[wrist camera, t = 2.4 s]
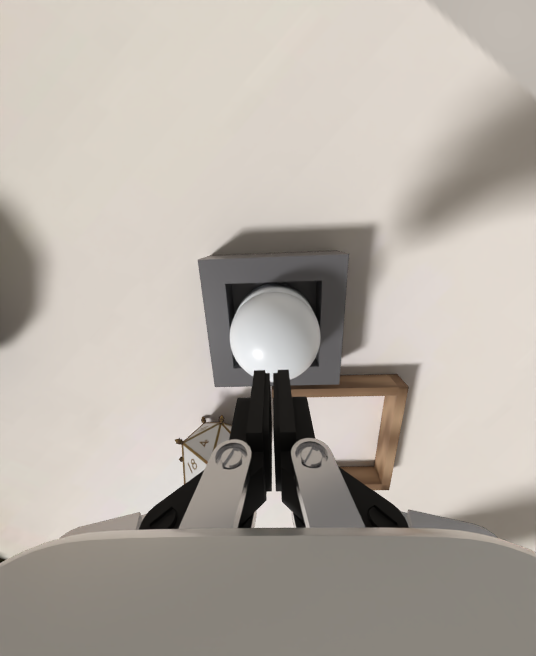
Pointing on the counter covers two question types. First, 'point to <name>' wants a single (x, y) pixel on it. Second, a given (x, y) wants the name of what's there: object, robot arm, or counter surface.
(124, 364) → the counter surface
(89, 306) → the counter surface
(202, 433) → the game die
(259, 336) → the dome
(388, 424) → the walnut bay
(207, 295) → the dome base
